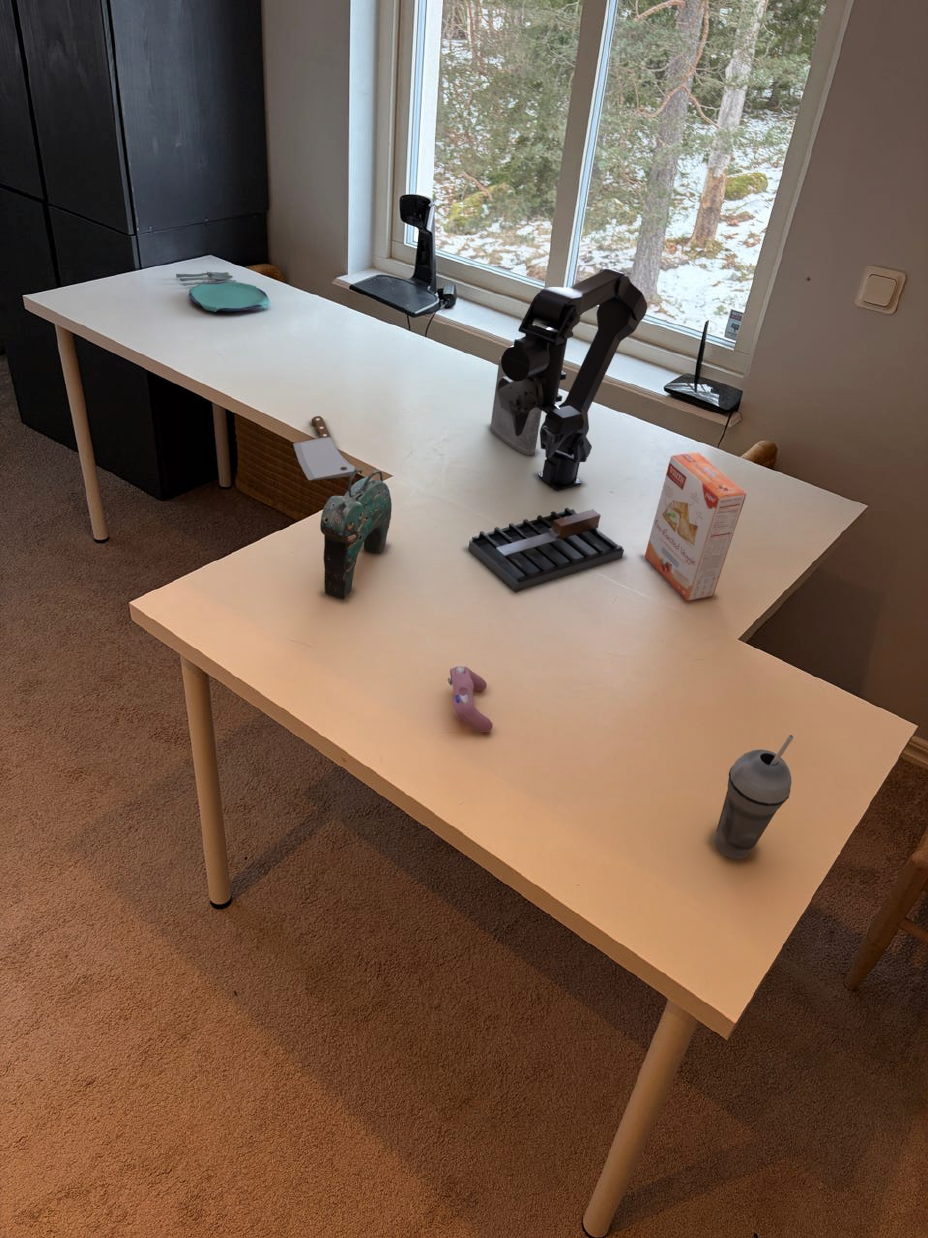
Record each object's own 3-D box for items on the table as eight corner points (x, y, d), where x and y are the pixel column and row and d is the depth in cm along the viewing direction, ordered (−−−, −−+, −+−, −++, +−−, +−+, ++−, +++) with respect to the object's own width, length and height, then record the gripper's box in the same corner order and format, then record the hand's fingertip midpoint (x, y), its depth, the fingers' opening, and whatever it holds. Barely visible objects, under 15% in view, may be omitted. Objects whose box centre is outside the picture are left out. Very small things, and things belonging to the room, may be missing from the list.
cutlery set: (203, 320, 236) (202, 310, 235) (168, 279, 256) (167, 270, 254) (279, 312, 245) (279, 304, 243) (239, 274, 265) (239, 265, 263)
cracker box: (641, 557, 170) (669, 453, 158) (669, 553, 172) (699, 450, 160) (685, 603, 160) (718, 495, 148) (714, 597, 163) (749, 491, 150)
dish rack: (573, 519, 178) (575, 504, 176) (622, 558, 169) (626, 543, 168) (467, 549, 166) (469, 534, 164) (515, 592, 158) (517, 577, 156)
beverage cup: (717, 813, 123) (762, 700, 111) (769, 842, 120) (822, 728, 108) (694, 848, 118) (739, 733, 106) (749, 878, 115) (801, 764, 103)
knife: (589, 521, 172) (592, 508, 170) (598, 528, 170) (601, 515, 169) (495, 549, 162) (497, 535, 160) (504, 556, 160) (506, 542, 158)
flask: (523, 456, 196) (536, 374, 185) (484, 427, 205) (494, 347, 194) (537, 453, 198) (551, 372, 187) (498, 424, 207) (509, 344, 196)
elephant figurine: (345, 607, 150) (349, 498, 137) (308, 596, 151) (309, 486, 139) (396, 546, 165) (403, 443, 153) (362, 536, 166) (367, 433, 154)
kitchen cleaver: (283, 418, 196) (331, 414, 199) (283, 423, 197) (331, 418, 200) (305, 478, 179) (357, 472, 182) (306, 483, 179) (357, 477, 182)
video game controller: (459, 694, 138) (441, 661, 134) (488, 684, 138) (471, 651, 134) (464, 743, 131) (446, 709, 127) (495, 732, 130) (478, 698, 126)
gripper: (477, 351, 166) (468, 432, 176) (542, 394, 155) (528, 478, 164) (528, 343, 172) (516, 421, 181) (594, 384, 160) (577, 465, 170)
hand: (532, 446), depth 174 cm, fingers open, 9 cm apart
